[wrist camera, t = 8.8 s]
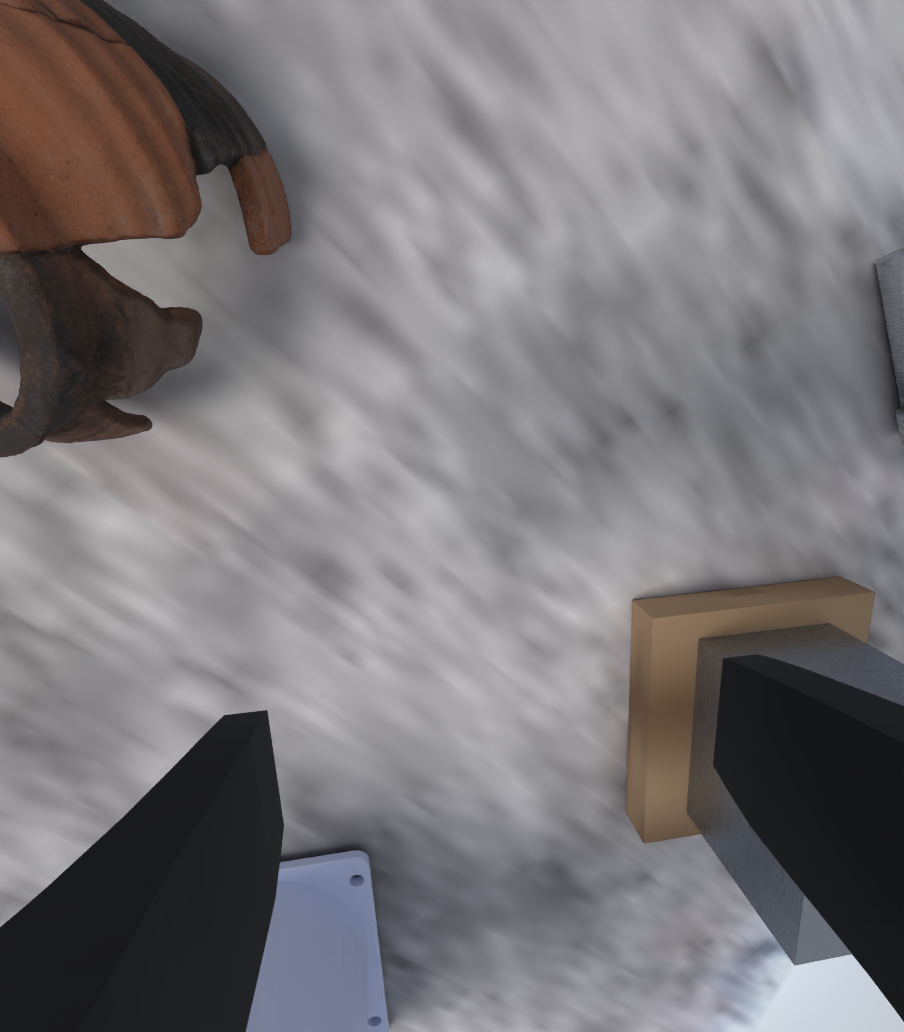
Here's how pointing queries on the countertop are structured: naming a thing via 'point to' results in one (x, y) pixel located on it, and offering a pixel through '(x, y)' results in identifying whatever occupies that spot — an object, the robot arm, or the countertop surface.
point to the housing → (716, 808)
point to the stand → (672, 673)
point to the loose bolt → (894, 318)
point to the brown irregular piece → (105, 207)
